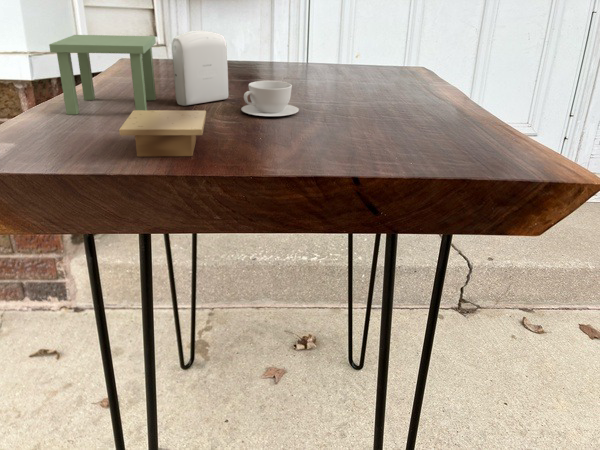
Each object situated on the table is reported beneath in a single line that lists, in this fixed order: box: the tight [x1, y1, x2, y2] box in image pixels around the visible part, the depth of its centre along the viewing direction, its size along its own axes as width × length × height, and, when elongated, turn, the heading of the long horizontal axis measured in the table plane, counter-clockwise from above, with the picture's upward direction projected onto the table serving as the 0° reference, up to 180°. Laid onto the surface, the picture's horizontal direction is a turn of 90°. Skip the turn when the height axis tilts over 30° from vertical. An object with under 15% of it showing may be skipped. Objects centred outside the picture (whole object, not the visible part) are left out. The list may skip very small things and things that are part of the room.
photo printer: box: [171, 29, 229, 107], centre depth 95 cm, size 10×4×12 cm, turn 133°
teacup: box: [240, 80, 300, 117], centre depth 91 cm, size 10×10×5 cm
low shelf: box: [118, 109, 207, 158], centre depth 70 cm, size 10×10×4 cm
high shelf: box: [48, 34, 157, 116], centre depth 90 cm, size 14×14×11 cm
